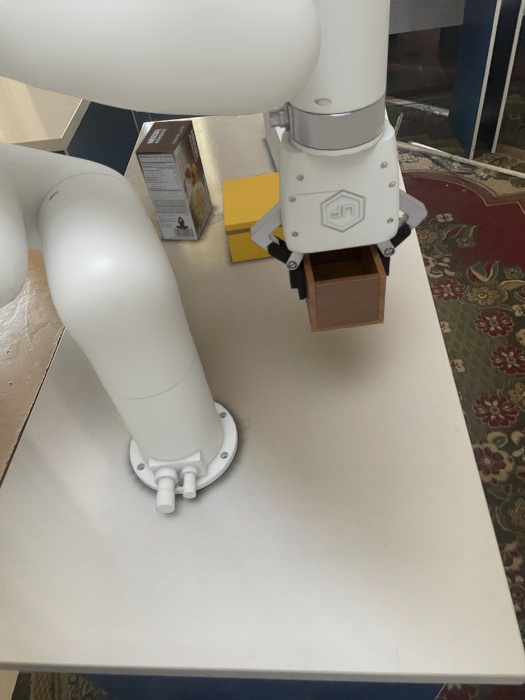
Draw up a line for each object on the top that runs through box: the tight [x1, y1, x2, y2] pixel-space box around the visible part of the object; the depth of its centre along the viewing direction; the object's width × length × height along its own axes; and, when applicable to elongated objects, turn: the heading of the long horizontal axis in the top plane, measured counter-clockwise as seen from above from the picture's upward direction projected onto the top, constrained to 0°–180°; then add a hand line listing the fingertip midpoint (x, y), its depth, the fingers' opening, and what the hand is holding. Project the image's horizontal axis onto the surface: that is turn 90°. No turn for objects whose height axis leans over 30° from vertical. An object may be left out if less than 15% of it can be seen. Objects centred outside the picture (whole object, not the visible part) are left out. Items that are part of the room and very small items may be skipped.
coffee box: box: [134, 119, 214, 241], centre depth 90 cm, size 9×6×16 cm
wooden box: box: [302, 244, 388, 334], centre depth 56 cm, size 10×7×6 cm
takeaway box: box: [221, 171, 285, 263], centre depth 89 cm, size 12×10×7 cm
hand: (338, 284), depth 57 cm, fingers closed on wooden box, 7 cm apart
